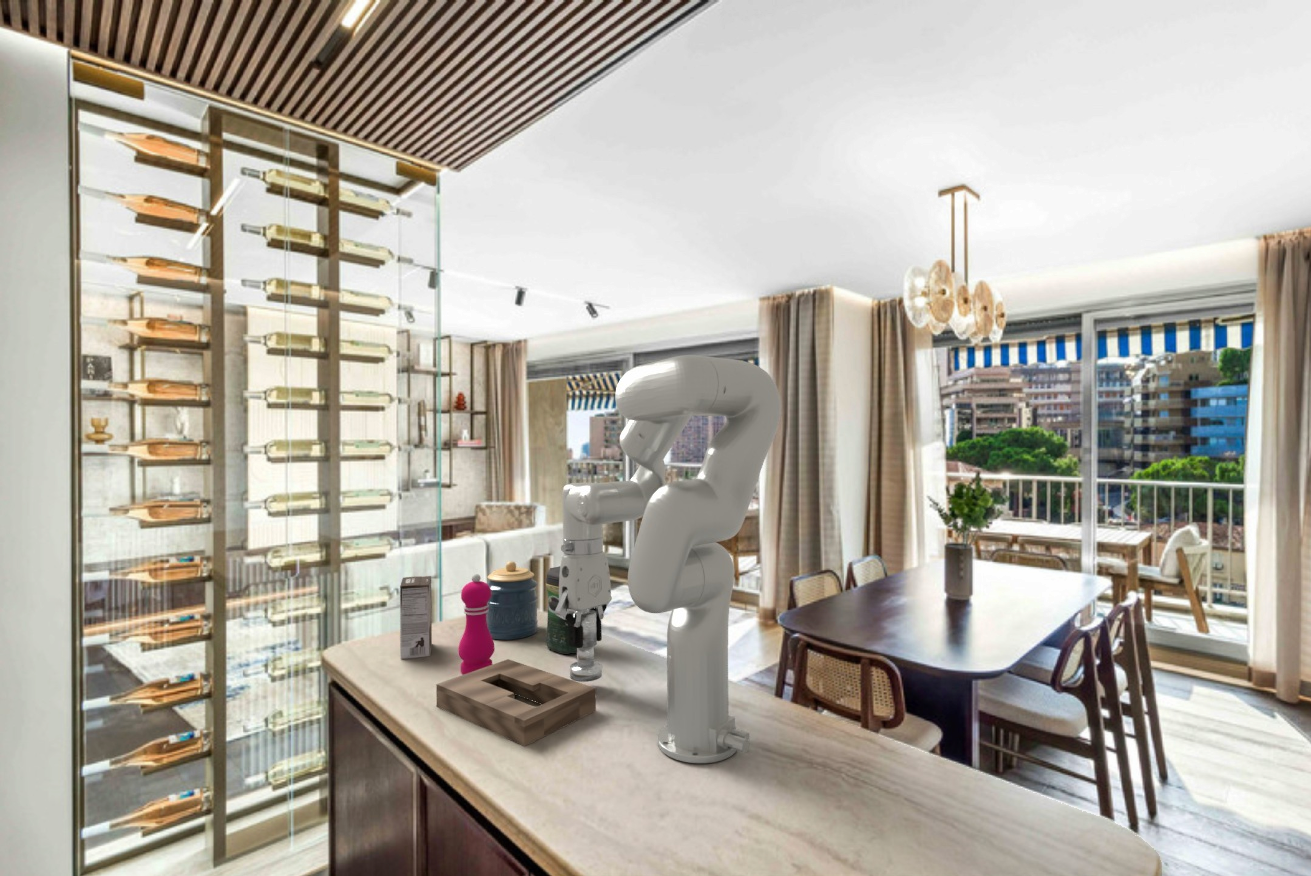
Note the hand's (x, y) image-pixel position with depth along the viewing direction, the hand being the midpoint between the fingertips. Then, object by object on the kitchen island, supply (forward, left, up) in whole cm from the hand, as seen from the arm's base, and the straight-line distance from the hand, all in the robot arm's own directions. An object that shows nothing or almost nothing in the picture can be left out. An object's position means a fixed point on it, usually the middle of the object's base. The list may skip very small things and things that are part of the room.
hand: (585, 642), depth 120 cm
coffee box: (+46, +8, -9) cm, 47 cm away
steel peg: (0, 0, -6) cm, 6 cm away
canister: (+40, -14, -9) cm, 43 cm away
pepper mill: (+25, +7, -9) cm, 27 cm away
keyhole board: (+4, +14, -9) cm, 17 cm away
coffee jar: (+20, -14, -9) cm, 26 cm away
